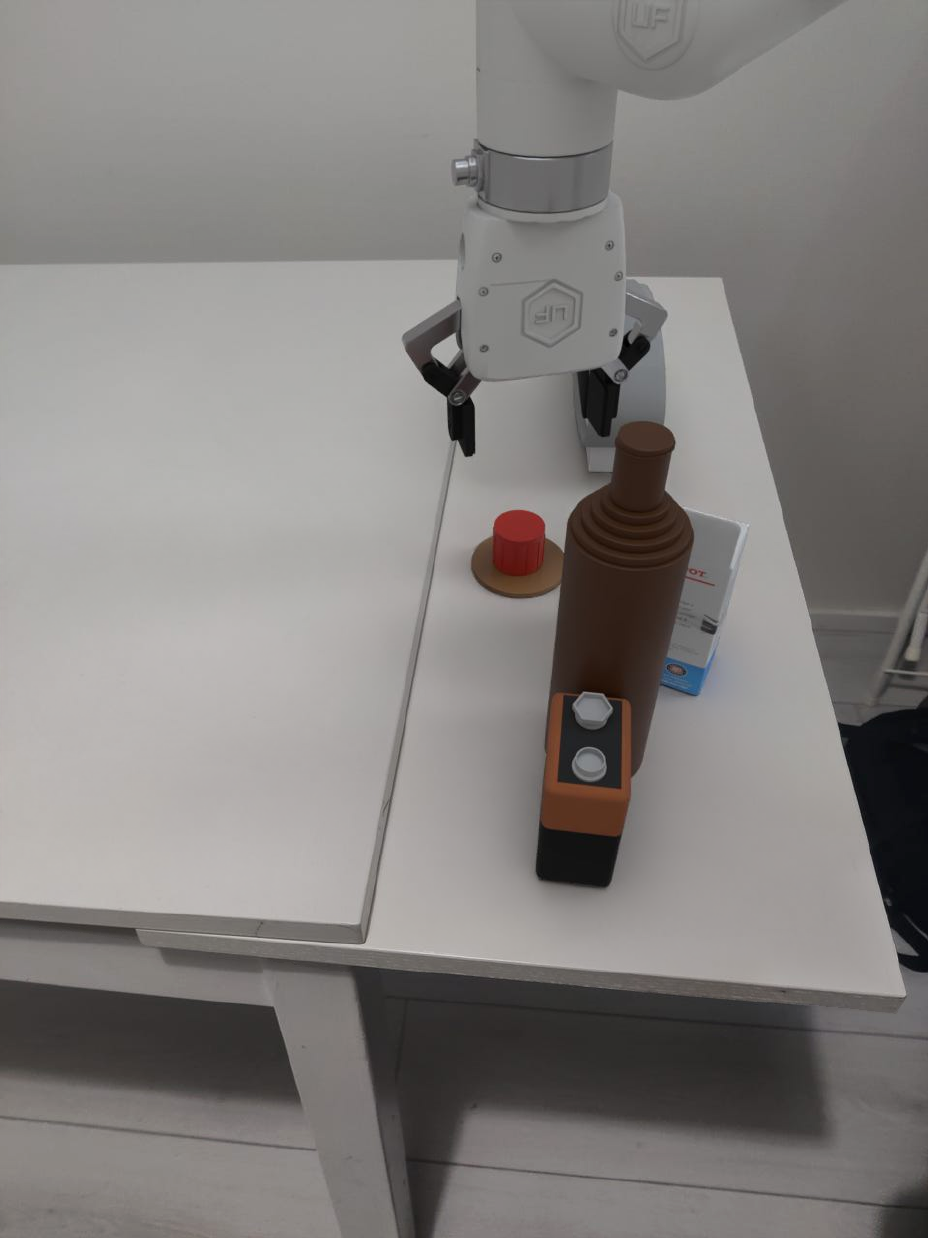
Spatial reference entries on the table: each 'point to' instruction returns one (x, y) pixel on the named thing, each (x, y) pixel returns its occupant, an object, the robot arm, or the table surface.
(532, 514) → the cap
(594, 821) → the battery
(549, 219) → the robot arm
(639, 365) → the alarm clock
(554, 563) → the coaster
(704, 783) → the table surface
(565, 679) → the bottle
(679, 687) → the ink box
